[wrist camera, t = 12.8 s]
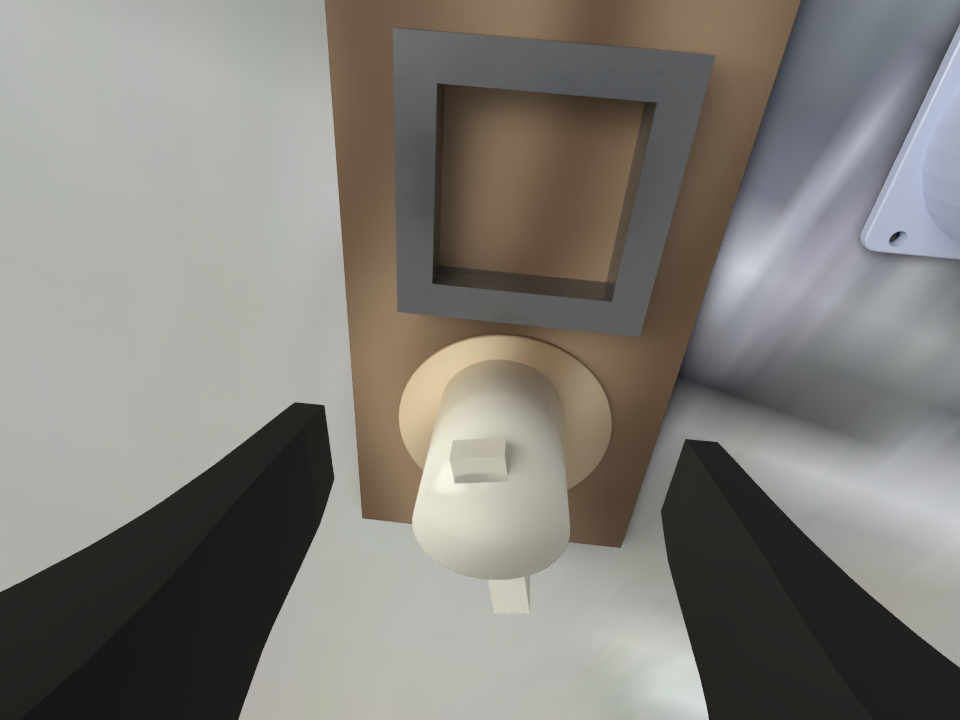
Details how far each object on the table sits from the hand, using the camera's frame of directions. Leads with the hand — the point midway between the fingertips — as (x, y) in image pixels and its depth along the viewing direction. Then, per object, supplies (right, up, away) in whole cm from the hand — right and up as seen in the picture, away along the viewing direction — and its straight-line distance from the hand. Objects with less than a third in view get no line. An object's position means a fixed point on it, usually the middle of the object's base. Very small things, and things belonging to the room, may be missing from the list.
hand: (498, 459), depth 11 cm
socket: (+1, +8, +7) cm, 10 cm away
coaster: (+1, -1, +12) cm, 12 cm away
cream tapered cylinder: (+1, -1, +12) cm, 12 cm away
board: (+1, +4, +10) cm, 11 cm away
